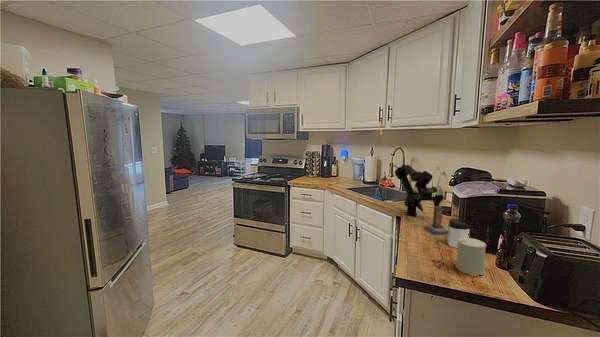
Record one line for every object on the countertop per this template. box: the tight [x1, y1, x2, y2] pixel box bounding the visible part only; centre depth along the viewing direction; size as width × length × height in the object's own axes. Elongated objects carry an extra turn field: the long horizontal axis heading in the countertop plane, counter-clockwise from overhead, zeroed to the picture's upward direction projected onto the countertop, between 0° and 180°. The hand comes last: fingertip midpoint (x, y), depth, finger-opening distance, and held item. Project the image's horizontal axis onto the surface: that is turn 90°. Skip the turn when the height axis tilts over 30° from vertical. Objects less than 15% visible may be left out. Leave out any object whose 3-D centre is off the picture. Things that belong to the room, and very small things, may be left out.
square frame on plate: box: [423, 223, 448, 236], centre depth 137 cm, size 10×10×3 cm
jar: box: [447, 218, 470, 249], centre depth 119 cm, size 9×8×12 cm
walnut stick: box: [432, 205, 443, 228], centre depth 137 cm, size 3×3×13 cm
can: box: [455, 237, 487, 276], centre depth 96 cm, size 9×9×12 cm
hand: (430, 211), depth 144 cm, fingers open, 9 cm apart
